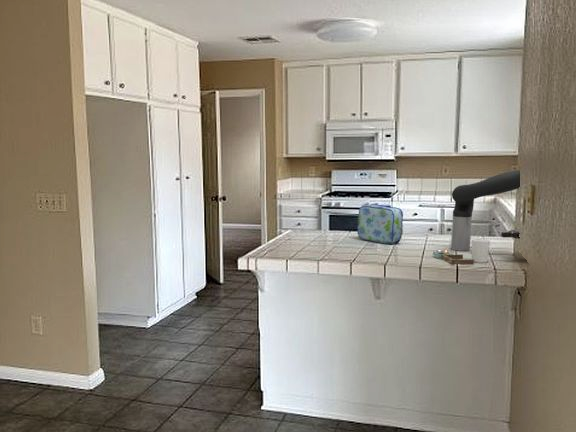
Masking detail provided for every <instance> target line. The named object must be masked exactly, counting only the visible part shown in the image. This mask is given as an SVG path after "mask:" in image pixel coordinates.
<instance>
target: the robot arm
mask: <svg viewBox="0 0 576 432" xmlns="http://www.w3.org/2000/svg"><path fill="white" fill-rule="evenodd" d="M520 170H521V169H517V170H511V171H506V172H503V173H499V174H497V175H493V176H491V177H488V178H486V179H484V180H481V181H478V182H474V183H469V184H462V185H461V184H460V185H458V186H456V187H455V188H454V189H453V190H452V193H451V197H452V200H453V201H454V203H455V204H454V208H453V211H452V223H451V224H452V226H451V227H452V228H451V240H450V241H451V242H450V243H451V244H450V248H451V250H453V251H459V252H460V251H461V252H462V251H463V252H467V251H470V249H471V240H472V239H471V238H472V237H471V236H472V218H473V217H472V216H473V212H474V203H475V199H479V198H481V197H487V196H493V195H499V194H503V193H509V192H511V191H514V190H518V189H520V188H519V187H520ZM518 230H519V229H517V230H516V229H511V230H507V231H504V232H503V231H502V232H501V234H500V235H501V238H511V239H518V240H521V239H520V237H519V234H520V233H519V231H518Z"/></svg>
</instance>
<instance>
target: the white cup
mask: <svg viewBox="0 0 576 432" xmlns="http://www.w3.org/2000/svg"><path fill="white" fill-rule="evenodd" d="M490 241H491V240H490V239H488V238H487V239H486V238H472V239H471V259H473V260H474V263H481V264H483V263H488V257H489V253H490Z"/></svg>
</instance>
